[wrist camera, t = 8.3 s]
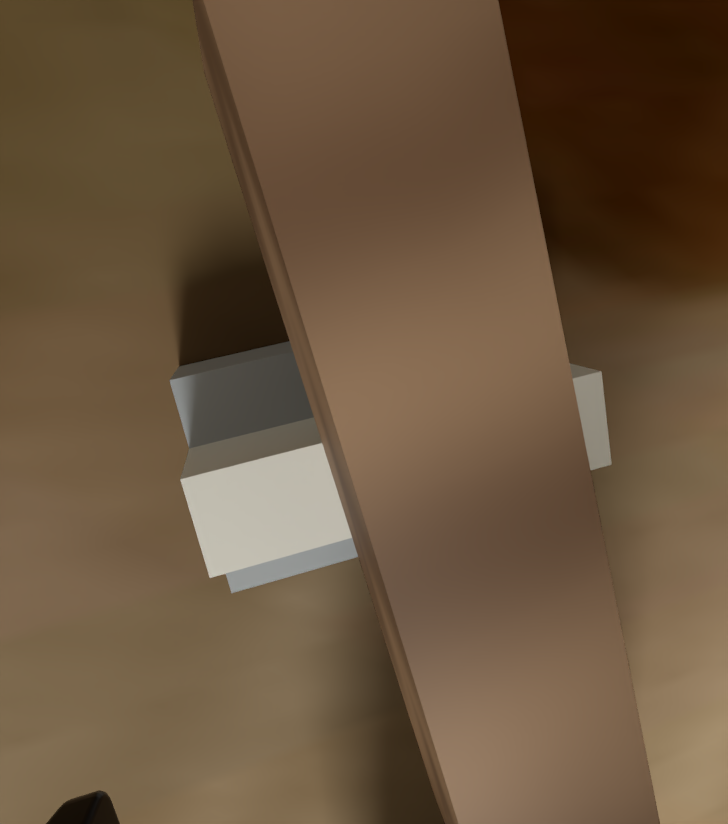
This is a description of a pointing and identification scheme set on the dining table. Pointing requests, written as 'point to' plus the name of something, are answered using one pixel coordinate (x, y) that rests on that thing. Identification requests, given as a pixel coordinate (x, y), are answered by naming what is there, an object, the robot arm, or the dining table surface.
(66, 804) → the robot arm
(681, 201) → the dining table surface
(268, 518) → the ridge stand
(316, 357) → the walnut bar
